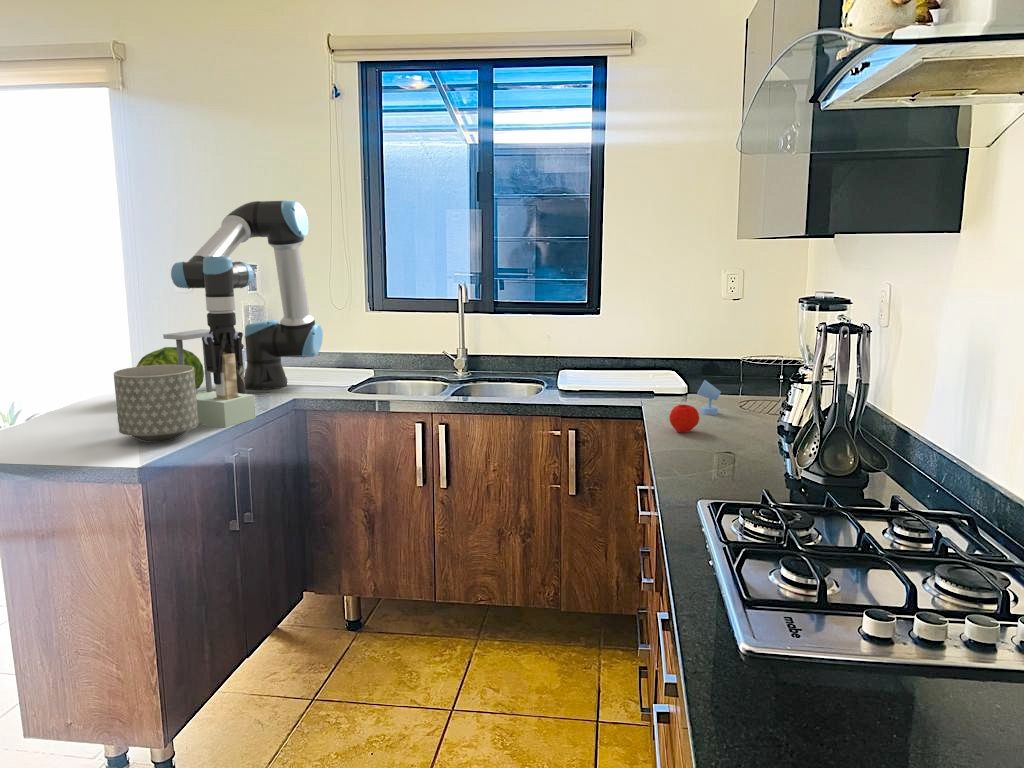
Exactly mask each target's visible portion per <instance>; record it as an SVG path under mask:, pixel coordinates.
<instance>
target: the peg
mask: <svg viewBox="0 0 1024 768" xmlns="http://www.w3.org/2000/svg"><path fill="white" fill-rule="evenodd" d="M216 368H217V367H216ZM221 373H224V382H225V396H219V395H217V399H222V400H230V399H234V398H238V391H237V377H236V363H235V354H230V353H223V355H222V371H221Z"/></svg>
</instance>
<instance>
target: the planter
mask: <svg viewBox="0 0 1024 768" xmlns="http://www.w3.org/2000/svg"><path fill="white" fill-rule="evenodd" d="M113 382H114V392H115V393H114V395H115V403H116V412H117V422H118V431H119V433H120V434H121V435H124V436H131V437H132V438H134V439H136V440H138V441H143V442H147V443H163V442H168V441H171V440H175V439H177V438H179V437H182V436H183V435H185V434H186V433H187V432H188V431H190V430H192V429H195V428H196V427H198V425H199V424H198V411H197V398H196V393H197V389H196V386H195V373H194V367H192V366H187V365H150V366H140V367H136V366H133V367H127V368H121V369H119V370H116V371H114V372H113ZM162 441H163V442H162Z"/></svg>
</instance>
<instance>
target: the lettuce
mask: <svg viewBox="0 0 1024 768" xmlns="http://www.w3.org/2000/svg"><path fill="white" fill-rule="evenodd" d="M183 355H184V365H187V366H192V367H194V373H195V386H196V390H198V389H199V388H200V387H201V385H202V384H203V382H204V379H205V370H204V366H203V365H204V364H203V363H202V361H201V360H200V358H199V357H198V356H197V355H195V354H194V352H192V351H189V350H187V349H184V348H183ZM150 365H178V357H177V346H175V347H174V346H170V347H169V346H165V347H162V348H159V349H158V350H154V351H151V352H149V353H147V354H145V355H144V356H142V358H141V359H139V361H138V363H137V365H136V366H135V367H140V366H150Z"/></svg>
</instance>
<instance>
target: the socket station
mask: <svg viewBox="0 0 1024 768" xmlns="http://www.w3.org/2000/svg"><path fill="white" fill-rule="evenodd" d="M209 332H210V329H203V328H200V329H194V330H185V331H179V332H171V333H165V334H162V335H163V337H162V338H163V339H164V340H175V341H176V342H175V343H176V345H175V346H176V347H177V357H178V365H184V355H183V349H184V348H183V343H184V342H183V341H188V340H193V339H200V338H201V339H202V337H206V336H208V335H209ZM201 341H202V340H201ZM202 352H203V365H204V366H203V369H204V379H205V390H203V391H198V392H196V398H197V411H198V425H203V426H212V427H220V428H229V427H231V426H235V425H238V424H242V423H245V422H249V421H252V420H254V419H255V420H256V418H257V415H256V413H257V412H256V399H255V394H250V393H249V394H248V393H246V394H240V393H238V398H234V399H230V400H222V399H217V395H216V390H213V387H212V385H213V384H212V383H213V382H212V373H211V372H210V371H207V367H206V358H205V349H204V344H203V341H202Z"/></svg>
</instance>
